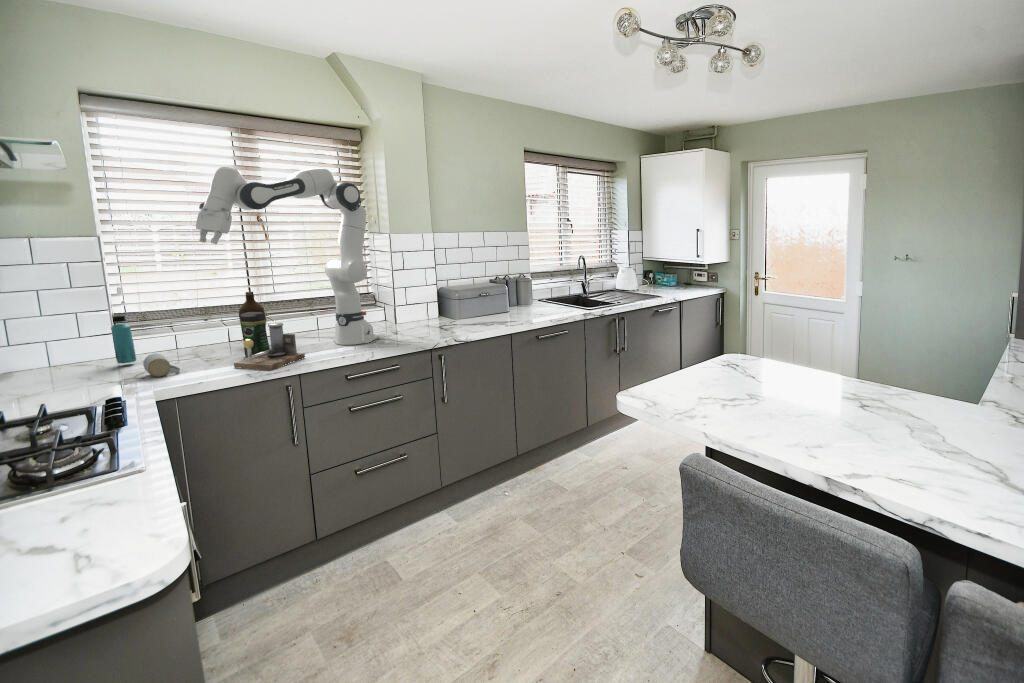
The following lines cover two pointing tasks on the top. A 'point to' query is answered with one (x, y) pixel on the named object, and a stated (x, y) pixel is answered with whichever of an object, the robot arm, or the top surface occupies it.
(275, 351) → the capstan
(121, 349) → the beverage bottle
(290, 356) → the stand
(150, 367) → the ceramic mug
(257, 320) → the coffee jar
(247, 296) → the olive oil
